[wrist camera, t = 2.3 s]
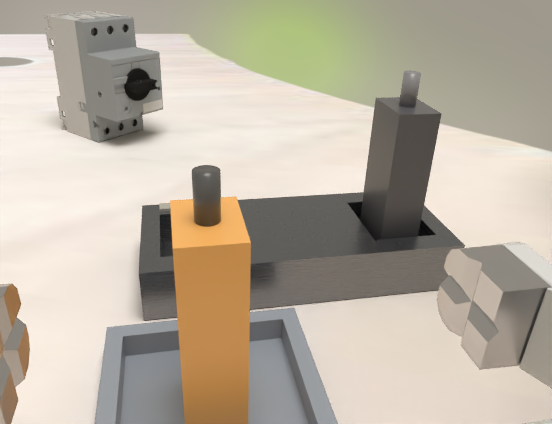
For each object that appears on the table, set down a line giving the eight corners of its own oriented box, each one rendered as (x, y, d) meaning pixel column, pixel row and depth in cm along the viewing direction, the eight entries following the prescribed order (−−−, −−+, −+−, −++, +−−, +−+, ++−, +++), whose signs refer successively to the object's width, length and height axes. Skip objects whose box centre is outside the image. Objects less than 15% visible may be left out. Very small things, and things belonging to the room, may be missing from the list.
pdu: (401, 227, 49) (408, 187, 47) (454, 288, 40) (465, 243, 38) (146, 246, 44) (142, 203, 42) (143, 320, 35) (138, 270, 33)
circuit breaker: (129, 153, 63) (116, 27, 56) (62, 129, 70) (43, 14, 64) (173, 138, 69) (166, 22, 62) (106, 117, 76) (93, 11, 69)
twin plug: (392, 229, 45) (419, 66, 39) (414, 256, 41) (447, 79, 35) (358, 232, 45) (380, 66, 38) (377, 259, 41) (404, 79, 34)
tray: (292, 333, 35) (293, 307, 34) (349, 498, 24) (354, 469, 23) (111, 354, 32) (107, 327, 31) (89, 547, 22) (82, 516, 21)
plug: (236, 375, 30) (236, 150, 24) (248, 437, 27) (251, 190, 20) (182, 382, 30) (166, 153, 23) (186, 447, 26) (168, 195, 19)
